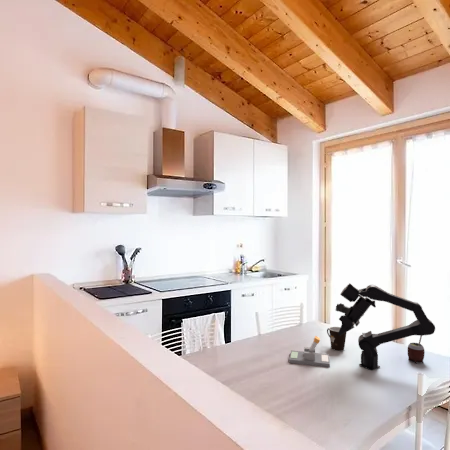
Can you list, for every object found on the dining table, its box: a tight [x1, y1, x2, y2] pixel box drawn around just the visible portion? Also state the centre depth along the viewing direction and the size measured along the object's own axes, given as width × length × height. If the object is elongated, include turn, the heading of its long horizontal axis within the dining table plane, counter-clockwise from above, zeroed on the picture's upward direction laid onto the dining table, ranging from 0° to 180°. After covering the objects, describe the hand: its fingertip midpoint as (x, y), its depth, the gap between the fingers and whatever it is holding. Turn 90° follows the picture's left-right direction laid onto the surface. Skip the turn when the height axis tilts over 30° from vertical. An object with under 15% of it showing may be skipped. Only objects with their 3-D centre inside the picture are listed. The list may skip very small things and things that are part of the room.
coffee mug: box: [326, 326, 347, 352], centre depth 182 cm, size 12×9×10 cm
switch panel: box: [288, 346, 331, 368], centre depth 165 cm, size 18×12×4 cm, turn 75°
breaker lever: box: [308, 335, 321, 352], centre depth 165 cm, size 2×4×10 cm, turn 165°
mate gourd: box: [407, 335, 425, 364], centre depth 166 cm, size 8×8×15 cm
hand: (338, 335), depth 162 cm, fingers closed
